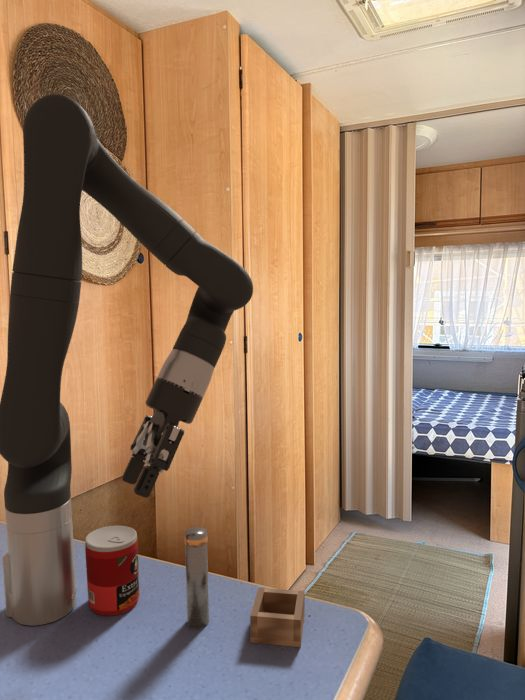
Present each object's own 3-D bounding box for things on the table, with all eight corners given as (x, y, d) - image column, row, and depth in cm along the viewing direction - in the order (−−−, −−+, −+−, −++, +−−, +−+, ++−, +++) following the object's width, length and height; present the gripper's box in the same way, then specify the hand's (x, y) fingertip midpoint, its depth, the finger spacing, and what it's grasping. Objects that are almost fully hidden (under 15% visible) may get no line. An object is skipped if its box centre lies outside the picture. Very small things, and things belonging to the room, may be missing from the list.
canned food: (127, 619, 80) (124, 550, 78) (78, 613, 81) (74, 545, 80) (147, 591, 87) (145, 527, 86) (103, 586, 89) (99, 523, 87)
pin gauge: (184, 627, 78) (181, 536, 76) (190, 613, 81) (188, 526, 79) (206, 629, 77) (204, 537, 75) (211, 615, 80) (209, 527, 79)
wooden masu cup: (250, 642, 74) (250, 615, 74) (258, 612, 81) (258, 587, 81) (300, 647, 73) (300, 620, 73) (304, 616, 80) (304, 591, 80)
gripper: (147, 374, 85) (101, 470, 82) (172, 376, 72) (118, 490, 69) (188, 393, 88) (145, 487, 85) (218, 399, 75) (170, 509, 72)
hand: (133, 488), depth 77 cm, fingers open, 8 cm apart
